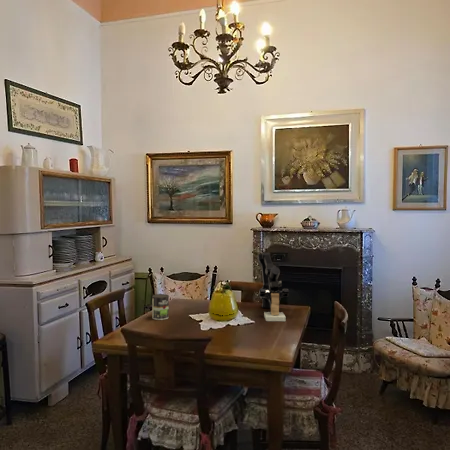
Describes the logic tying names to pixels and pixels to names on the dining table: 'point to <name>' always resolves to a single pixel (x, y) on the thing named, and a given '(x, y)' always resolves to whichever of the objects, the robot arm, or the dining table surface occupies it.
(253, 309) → the dining table surface
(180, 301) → the dining table surface
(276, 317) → the tile base
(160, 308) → the coffee can
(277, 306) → the oak block
